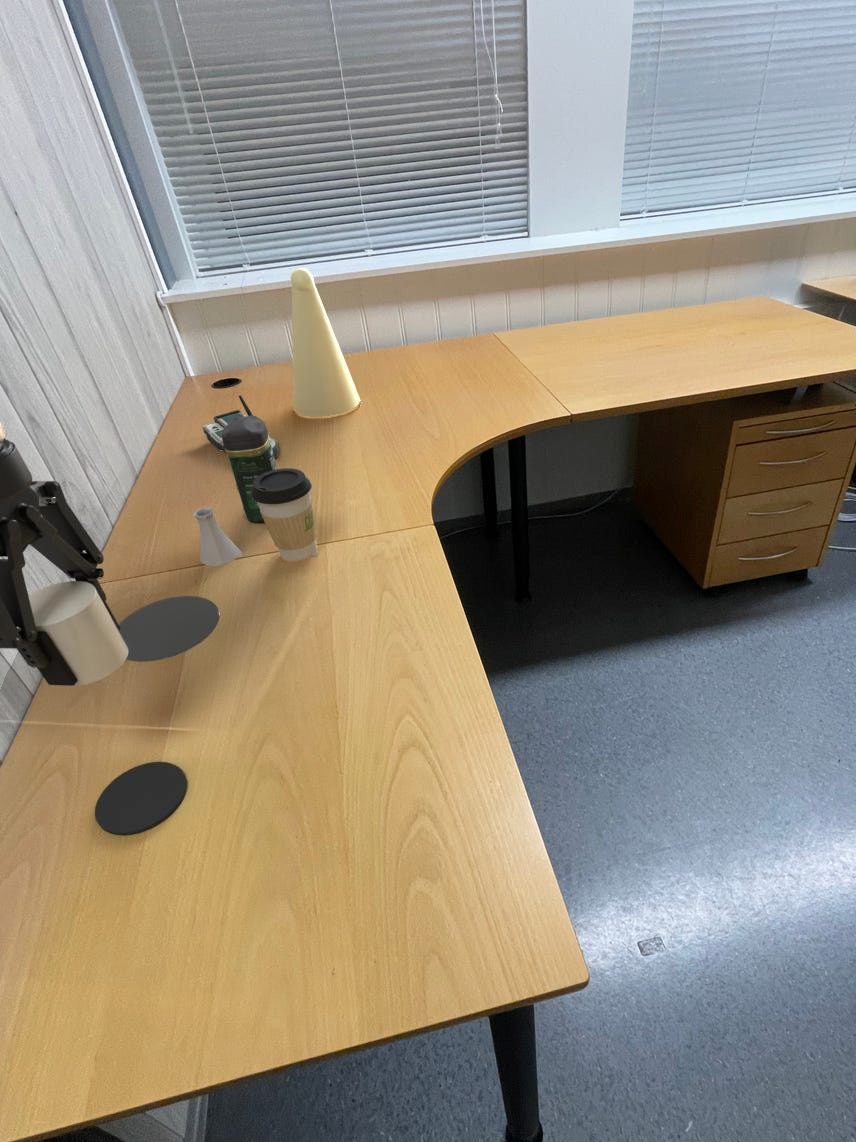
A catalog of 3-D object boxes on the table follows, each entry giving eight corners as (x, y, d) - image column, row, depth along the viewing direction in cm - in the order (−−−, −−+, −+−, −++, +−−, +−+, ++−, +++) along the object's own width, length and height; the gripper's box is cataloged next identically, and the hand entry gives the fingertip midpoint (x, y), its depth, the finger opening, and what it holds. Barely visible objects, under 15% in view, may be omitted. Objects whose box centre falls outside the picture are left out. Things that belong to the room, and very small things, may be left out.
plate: (92, 665, 92) (88, 659, 91) (147, 600, 104) (144, 594, 103) (194, 669, 90) (191, 662, 89) (238, 602, 102) (235, 596, 101)
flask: (226, 575, 109) (208, 524, 102) (192, 569, 110) (172, 519, 104) (250, 553, 114) (234, 504, 107) (217, 548, 116) (199, 499, 109)
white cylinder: (36, 685, 65) (-7, 626, 59) (78, 638, 70) (42, 580, 65) (104, 687, 64) (67, 627, 59) (141, 639, 70) (110, 581, 64)
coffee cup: (338, 549, 113) (321, 473, 103) (301, 577, 107) (279, 498, 97) (299, 537, 117) (278, 462, 108) (260, 563, 111) (235, 486, 101)
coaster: (78, 832, 70) (76, 830, 69) (125, 762, 77) (124, 759, 77) (161, 838, 69) (160, 835, 68) (201, 766, 76) (200, 763, 76)
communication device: (243, 473, 141) (231, 435, 135) (204, 442, 155) (192, 406, 149) (291, 456, 146) (282, 419, 140) (250, 428, 161) (239, 393, 155)
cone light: (293, 399, 176) (259, 256, 153) (357, 391, 179) (333, 249, 156) (294, 431, 158) (256, 274, 135) (366, 422, 160) (340, 266, 138)
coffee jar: (285, 522, 122) (259, 429, 110) (244, 526, 121) (213, 433, 109) (290, 499, 129) (266, 410, 117) (252, 503, 129) (223, 414, 117)
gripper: (-96, 511, 44) (62, 729, 58) (74, 405, 59) (164, 598, 74) (-191, 511, 44) (-12, 726, 59) (1, 406, 60) (105, 597, 75)
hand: (86, 655), depth 66 cm, fingers closed on white cylinder, 8 cm apart
